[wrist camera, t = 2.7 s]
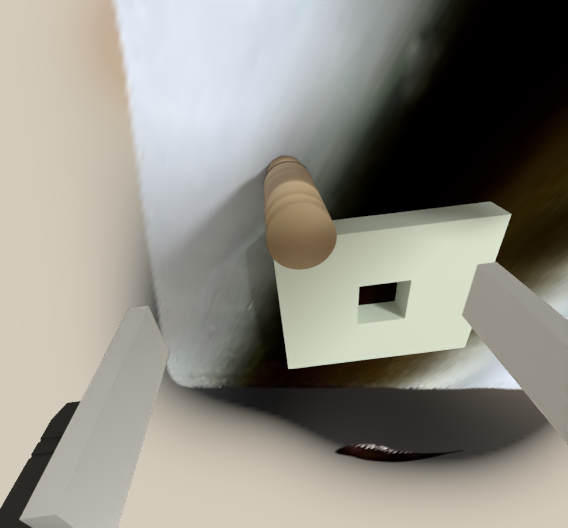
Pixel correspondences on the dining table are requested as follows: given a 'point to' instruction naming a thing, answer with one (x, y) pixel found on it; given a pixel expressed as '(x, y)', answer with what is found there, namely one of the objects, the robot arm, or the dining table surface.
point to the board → (387, 269)
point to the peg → (296, 216)
